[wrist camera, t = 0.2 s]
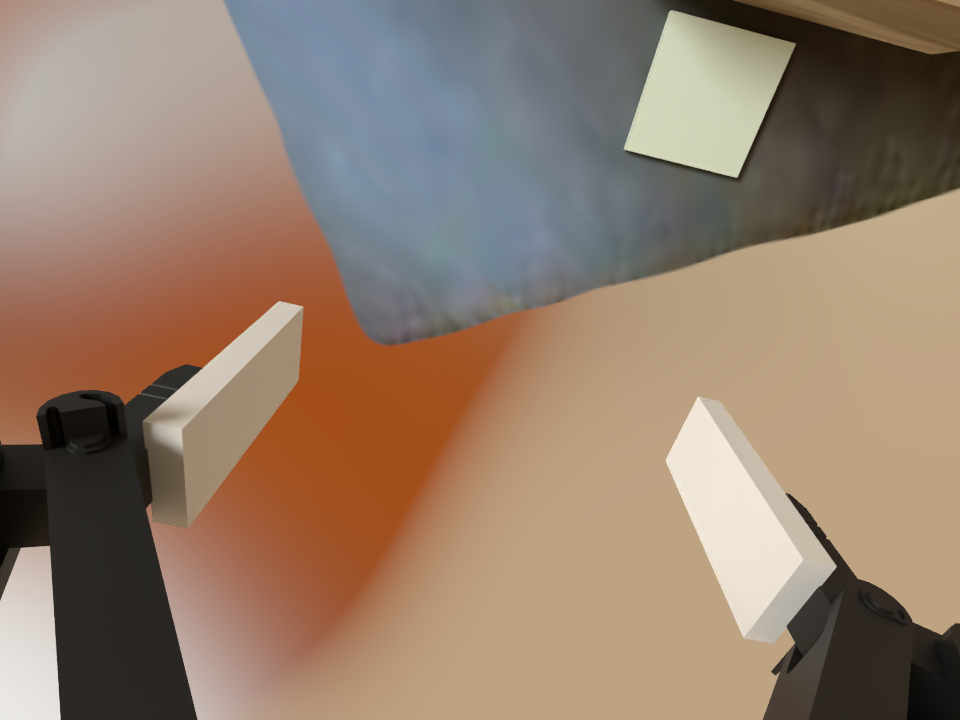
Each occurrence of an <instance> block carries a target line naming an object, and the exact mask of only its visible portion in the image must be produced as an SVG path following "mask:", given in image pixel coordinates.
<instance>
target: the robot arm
mask: <svg viewBox="0 0 960 720" xmlns="http://www.w3.org/2000/svg"><path fill="white" fill-rule="evenodd" d="M302 319H303V307H302V306H298V305H294V304H289V303H285V302H280V301H279V302H278V303H276V304H275V305H274V306H273V307H272V308H271V309H270V310H268V311H267V312H266V313H265V314H264V315H263V316H262V317H261V318H259V319H258V320H257V321H256V322H255V323H254V324H253V325H251V326H250V327H249V328H248V329H247V330H246V331H245V332H243V333H242V334H241V335H240V336H239V337H238V338H237V339H236V340H234V341H233V342H232V343H231V344H230V345H229V346H228V347H226V348H225V349H224V350H223V351H222V352H221V353H220V354H218V355H217V356H216V357H215V358H214V359H213V360H212V361H210V362H209V363H208V364H207V365H206V366H205V367H204V368H201V367H196V366H191V365H183V366H181V367H178V368H176V369H173V370H170V371H168V372H166V373H165V374H163V375H162V376H161V377H160V378H158V379H157V380H156V381H154V382H153V384H152V386H151V385H150V386H148V387H147V388H146V389H144V390H143V391H142V392H141V394H140V395H139V394H138V395H137V396H136V397H134V398H133V399H132V400H131V401H129V402H128V403H127V404H126V405H124V403H123V401H122V400H121V399H120V397H119V396H116V395H114V394H112V393H110V392H105V391H98V390H88V391H87V390H86V391H76V392H71V393H67V394H63V395H60V396H58V397H55V398H53V399H51V400H49V401H47V402H46V403H45V404H44V405H43V406H41V407H40V408H39V410H38V413H37V416H36V417H37V421H38V426H39V430H40V434H41V439H42V443H43V444H38V445H1V441H0V600H1V597H2V595H3V592H4V589H5V587H6V584H7V582H8V579H9V577H10V574H11V571H12V569H13V566H14V564H15V561H16V559H17V556H18V554H19V551H20V548H23V547H37V546H50V552H51V568H52V582H53V583H52V585H53V601H54V617H55V633H56V650H57V665H58V681H59V698H60V713H61V720H197V716H196V712H195V708H194V704H193V700H192V696H191V692H190V687H189V683H188V679H187V675H186V671H185V667H184V663H183V659H182V655H181V651H180V647H179V642H178V639H177V634H176V630H175V626H174V622H173V618H172V614H171V610H170V606H169V602H168V597H167V593H166V590H165V585H164V581H163V577H162V573H161V569H160V565H159V561H158V557H157V553H156V548H155V545H154V541H153V536H152V532H151V528H150V524H149V520H148V516H147V512H146V508H147V507H148V505H149V504H150V503H151V506H152V516H153V521H154V522H159V523H164V524H168V525H174V526H178V527H184V528H189V526H190V525H191V524H192V522H193V521H194V520H195V518H196V517H197V515H198V514H199V513H200V511H201V510H202V509H203V508H204V506H205V505H206V503H207V502H208V501H209V499H210V498H211V497H212V496H213V494H214V493H215V491H216V490H217V489H218V487H219V486H220V485H221V483H222V482H223V480H224V479H225V478H226V477H227V475H228V474H229V473H230V471H231V470H232V469H233V467H234V466H235V465H236V463H237V462H238V461H239V459H240V458H241V457H242V455H243V454H244V452H245V451H246V450H247V448H248V447H249V446H250V445H251V443H252V442H253V440H254V439H255V437H257V435H258V434H259V432H260V431H261V430H262V429H263V427H264V426H265V425H266V423H267V422H268V420H269V419H270V418H271V416H272V415H273V414H274V412H275V411H276V410H277V408H278V407H279V406H280V404H281V403H282V402H283V400H284V399H285V398H286V396H287V395H288V394H289V392H290V391H291V390H292V388H293V387H294V386H295V384H296V383H297V382H298V379H299V378H298V377H299V364H300V348H301V334H302ZM666 463H667V465H668V467H669V470H670V472H671V474H672V476H673V479H674V481H675V483H676V485H677V488H678V490H679V492H680V495H681V497H682V499H683V501H684V504H685V506H686V508H687V511H688V513H689V515H690V517H691V520H692V522H693V524H694V526H695V529H696V531H697V533H698V535H699V538H700V540H701V542H702V544H703V547H704V549H705V551H706V554H707V556H708V558H709V561H710V563H711V565H712V567H713V570H714V572H715V574H716V576H717V579H718V581H719V583H720V586H721V588H722V590H723V592H724V595H725V597H726V599H727V601H728V604H729V606H730V608H731V610H732V613H733V615H734V617H735V620H736V622H737V624H738V626H739V629H740V631H741V633H742V635H743V638H746V639H752V640H756V641H761V642H766V643H771V644H774V643H775V642H776V641H777V639H778V638H779V637H780V636H781V634H782V633H783V632H784V631H785V630H786V628H788V630H789V632H790V634H791V635H792V638H793V639H794V641H795V644H794V645H793V647H792V648H791V649H790V650H789V651H788V652H787V653H786V655H785V656H784V657H783V658H782V659H781V661H780V662H779V663H778V664H777V665H776V666H775V668H774V669H773V670H772V671H771V672H772V673H773V674H774V675H777V674H778V673H779V672H780V674H779V676H778V679H777V682H776V685H775V687H774V690H773V693H772V696H771V698H770V701H769V704H768V707H767V710H766V712H765V715H764V718H763V720H960V624H958V623H956V624H954V625H953V626H951V627H950V628H949V629H948V630H947V631H946V632H945V633H944V634H943V635H940V634H938V633H936V632H933V631H931V630H929V629H927V628H924V627H922V626H920V625H918V624H915V623H913V622H912V619H911V617H910V616H909V614H908V613H907V611H906V610H905V608H904V607H903V606H902V605H901V604H900V603H899V602H898V601H897V600H896V599H894V598H893V597H892V596H891V595H889V594H888V593H887V592H885V591H884V590H882V589H881V588H879V587H877V586H875V585H873V584H871V583H869V582H866V581H863V580H859V579H857V577H856V576H855V575H854V573H853V572H852V570H851V569H850V568H849V566H848V565H847V564H846V562H845V561H844V560H843V558H842V557H841V556H840V554H839V553H838V551H837V550H836V549H835V547H834V546H833V545H832V543H831V542H830V540H828V539H826V535H825V534H824V532H823V531H822V529H821V528H820V527H817V523H816V521H815V520H814V519H813V517H812V516H811V514H810V513H809V512H808V510H807V509H806V508H805V507H803V505H801V504H800V503H799V502H798V501H797V500H796V499H795V498H794V497H792V496H791V495H790V494H787V493H785V492H784V491H783V490H782V488H781V487H780V485H779V484H778V483H777V481H776V480H775V479H774V477H773V476H772V474H771V473H770V471H769V470H768V469H767V467H766V466H765V464H764V463H763V461H762V460H761V459H760V457H759V456H758V455H757V453H756V452H755V450H754V449H753V447H752V446H751V444H750V443H749V442H748V440H747V439H746V437H745V436H744V435H743V433H742V432H741V430H740V429H739V428H738V426H737V425H736V423H735V422H734V421H733V419H732V418H731V416H730V415H729V413H728V412H727V411H726V409H725V408H724V406H723V405H722V404H721V402H720V401H716V400H711V399H707V398H703V397H698V398H697V400H696V402H695V404H694V406H693V408H692V410H691V412H690V414H689V415H688V417H687V419H686V421H685V424H684V425H683V427H682V429H681V431H680V433H679V435H678V437H677V439H676V441H675V443H674V445H673V447H672V449H671V451H670V453H669V455H668V457H667V459H666Z"/></svg>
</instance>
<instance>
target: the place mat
mask: <svg viewBox="0 0 960 720" xmlns="http://www.w3.org/2000/svg"><path fill="white" fill-rule="evenodd" d="M795 45H796V43H792V42H788V41H784V40H781V39H777V38H773V37H770V36H766V35H762V34H759V33H755V32H751V31H747V30H744V29H740V28H736V27H733V26H729V25H725V24H722V23H718V22H714V21H710V20H707V19H703V18H699V17H696V16H692V15H688V14H685V13H681V12H677V11H673V10H671V11H669V14H668V17H667V20H666V23H665V26H664V29H663V32H662V35H661V38H660V41H659V44H658V47H657V50H656V53H655V56H654V59H653V62H652V65H651V68H650V71H649V74H648V77H647V80H646V83H645V86H644V89H643V92H642V95H641V98H640V101H639V105H638V108H637V111H636V114H635V117H634V120H633V123H632V126H631V129H630V132H629V135H628V138H627V141H626V144H625V147H624V150H628V151H632V152H636V153H640V154H644V155H648V156H652V157H656V158H660V159H664V160H668V161H672V162H676V163H680V164H684V165H688V166H692V167H695V168H699V169H703V170H707V171H711V172H715V173H719V174H723V175H727V176H731V177H735V178H737V177H738V175H739V172H740V170H741V168H742V166H743V163H744V161H745V159H746V157H747V154H748V152H749V150H750V147H751V145H752V143H753V141H754V138H755V136H756V134H757V132H758V129H759V127H760V125H761V122H762V120H763V118H764V116H765V113H766V111H767V109H768V107H769V104H770V102H771V100H772V97H773V95H774V93H775V91H776V88H777V86H778V84H779V82H780V79H781V77H782V75H783V72H784V70H785V68H786V66H787V63H788V61H789V59H790V57H791V54H792V52H793V50H794V47H795Z"/></svg>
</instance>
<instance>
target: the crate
mask: <svg viewBox="0 0 960 720" xmlns="http://www.w3.org/2000/svg"><path fill="white" fill-rule="evenodd" d="M733 1H737V2H741V3H744V4H748V5H752V6H755V7H759V8H763V9H766V10H770V11H774V12H777V13H781V14H785V15H788V16H792V17H796V18H799V19H803V20H807V21H810V22H814V23H818V24H821V25H825V26H828V27H832V28H836V29H839V30H843V31H847V32H850V33H854V34H858V35H861V36H865V37H869V38H872V39H876V40H880V41H883V42H887V43H891V44H894V45H898V46H902V47H905V48H909V49H913V50H916V51H920V52H924V53H927V54H938V53H946V52H955V51H960V0H733Z"/></svg>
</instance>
